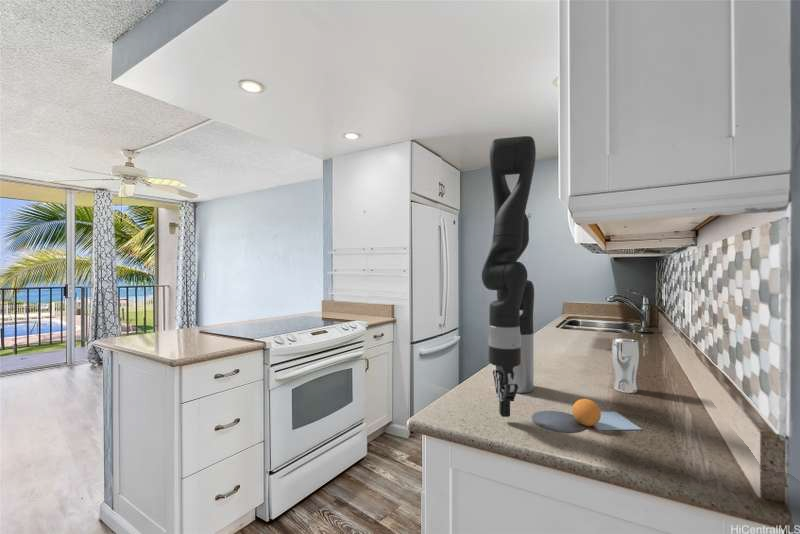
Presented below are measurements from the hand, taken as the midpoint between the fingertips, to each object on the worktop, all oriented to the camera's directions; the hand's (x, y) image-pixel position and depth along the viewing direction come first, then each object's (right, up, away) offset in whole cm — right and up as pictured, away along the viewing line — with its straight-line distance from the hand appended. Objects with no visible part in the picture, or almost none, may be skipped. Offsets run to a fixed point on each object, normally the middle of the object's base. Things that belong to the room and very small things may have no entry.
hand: (504, 415), depth 89 cm
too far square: (+25, -1, 0) cm, 25 cm away
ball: (+19, +2, -2) cm, 19 cm away
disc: (+13, -1, 0) cm, 13 cm away
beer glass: (+43, -1, +22) cm, 48 cm away
